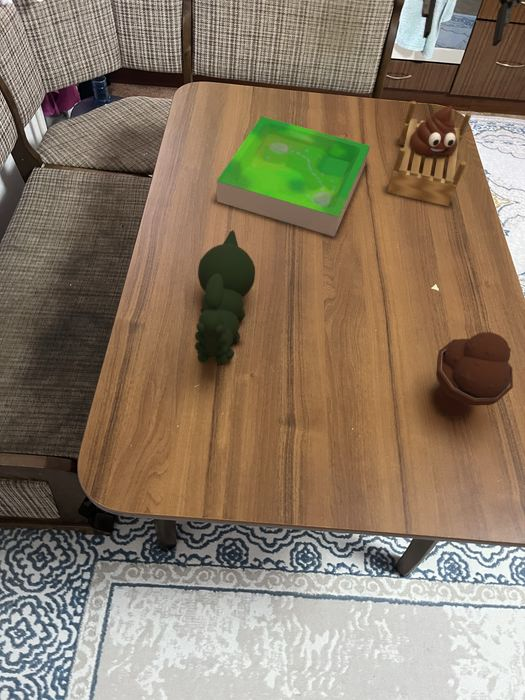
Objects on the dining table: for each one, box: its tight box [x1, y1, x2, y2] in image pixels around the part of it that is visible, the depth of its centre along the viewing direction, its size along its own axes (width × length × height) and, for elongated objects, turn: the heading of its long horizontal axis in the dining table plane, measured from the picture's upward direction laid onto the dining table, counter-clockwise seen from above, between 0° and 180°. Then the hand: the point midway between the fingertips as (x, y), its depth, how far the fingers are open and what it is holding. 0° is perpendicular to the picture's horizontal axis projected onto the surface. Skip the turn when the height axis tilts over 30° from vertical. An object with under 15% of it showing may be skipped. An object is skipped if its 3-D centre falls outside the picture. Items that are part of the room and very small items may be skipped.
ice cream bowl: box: [434, 331, 514, 418], centre depth 78 cm, size 11×11×15 cm
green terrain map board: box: [216, 116, 371, 238], centre depth 111 cm, size 25×25×5 cm
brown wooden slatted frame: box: [386, 100, 472, 207], centre depth 114 cm, size 13×20×10 cm, turn 164°
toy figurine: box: [194, 230, 256, 366], centre depth 83 cm, size 9×19×25 cm
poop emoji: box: [410, 105, 457, 157], centre depth 110 cm, size 10×8×9 cm
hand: (461, 39), depth 103 cm, fingers open, 13 cm apart
